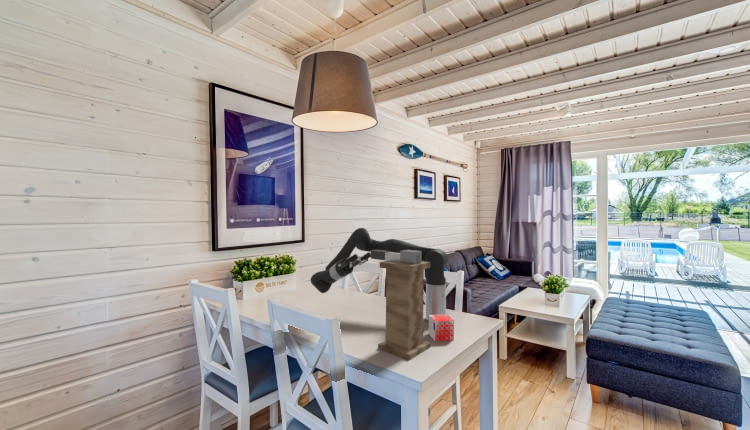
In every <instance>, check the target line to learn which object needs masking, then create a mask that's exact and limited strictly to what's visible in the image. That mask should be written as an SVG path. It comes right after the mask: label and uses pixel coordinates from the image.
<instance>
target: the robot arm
mask: <svg viewBox="0 0 750 430" xmlns="http://www.w3.org/2000/svg"><path fill="white" fill-rule="evenodd" d="M354 249H357V250H360V251H362V252H366V253H365V254H363V255H361V256H359V255H358V254H357V253H355V254H353V255H352V253H353V252H354ZM371 250H384V251H390V252H395V253H400V251H403V250H416V251H422V255H421V261H424V262H431V265H430V268H427V269H424V278H425V321H428V322H429V315H439V314H447V295H446V294H447V293H446V292H447V291H446V290H447V285H446V284H447V282H446V281H447V279H446V277H445V271H444V270H445V267H446V265H447V264H448V261H449V256H448V254H447V253H446V251H444V250H442V249H440V248H433V247H432V248H431V247H425V246H420V245H418V244H414V243H410V242H407V241H404V240H401V239H394V238H389V239H386V240H381V241H379V240H376V239H373V238H371V236H370V234H369V231H368V230H367V229H366V228H364V227H359V228H357V229H355V230H354V231H353V232H352V233H351V235H350V236H349V237H348V239H347V241H346V242H345V244H344V245H343V246H342V248H340V251H339V252H338V253H337V254H336V256H334V258H333V259H332V260H331V261H330V262H329V263H328V264H327V265H326V266H325V268H324V269H325V270H321V271H317V272H315V273H313V274H312V275H311V277H310V280H309V281H310V284H312V286H313V287H315V289H317V291H318V292H319V293H321V294H326V293H327V292H328V291H329V290H330V289H331V287H332V285H333V284H335V283H336V282H338V281H340V280H343V278H346V277H347V276H349V275H351V274H352V273H353V272H354V268H356V267H358V266H361V265H363V264H365V263H366V262H368V261H369V258H370V259H371Z"/></svg>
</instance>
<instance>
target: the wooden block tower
mask: <svg viewBox="0 0 750 430" xmlns="http://www.w3.org/2000/svg"><path fill="white" fill-rule="evenodd" d="M430 265H431V262H424V261H421V263H419V264H406V263H400V262H394V261H386V260H382V261H380V262H379V268H380V269H386V270H385V272H386V273H385V274H386V275H385V285H386V286H385V340H384V341H382V342H380V343H378V344H377V349H378V350H381V351H383V352H386V353H389V354H392V355H395V356H397V357H401V358H403V359H406V360H412V359H414V358H415V357H416V356H419V355H420V354H421V353H423V352H425V351H426V350H428V349H430V348H431V342H429V341H426V340H424V295H425V294H424V292H425V291H424V286H425V285H424V283H425V279H424V278H425V269H427V268H430Z"/></svg>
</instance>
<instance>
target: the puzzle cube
mask: <svg viewBox="0 0 750 430" xmlns="http://www.w3.org/2000/svg"><path fill="white" fill-rule="evenodd" d="M428 335H430V337H431V338H432V339H433V341H435V342H439V341H442V342H443V341H455V320H454V319H453V318H452V317H451V316H449V315H448V314H447V313H446V314H439V315H429V321H428Z"/></svg>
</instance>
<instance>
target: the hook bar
mask: <svg viewBox="0 0 750 430" xmlns="http://www.w3.org/2000/svg"><path fill="white" fill-rule="evenodd" d="M370 253H371V257H370V259H371V260H379V261H394V262H400V263H406V264H419V263H421V255H422V251H416V250H403V251H400V253H395V252H390V251H384V250H371V252H370Z"/></svg>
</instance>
